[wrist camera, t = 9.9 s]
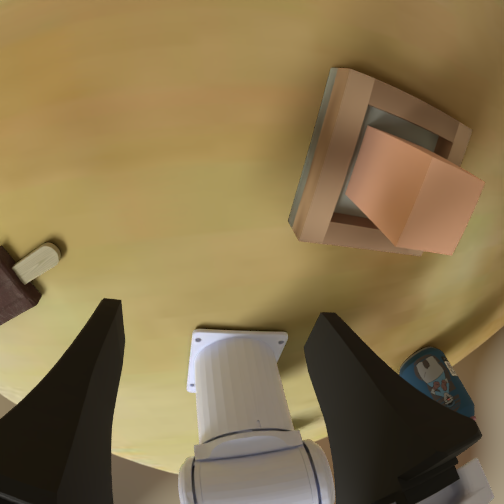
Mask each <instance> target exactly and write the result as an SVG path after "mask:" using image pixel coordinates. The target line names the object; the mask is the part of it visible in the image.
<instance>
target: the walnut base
mask: <svg viewBox="0 0 504 504" xmlns="http://www.w3.org/2000/svg"><path fill="white" fill-rule="evenodd" d="M367 125H368V126H371V127H373V128H376V129H379V130H382V131H384V132H387V133H390V134H392V135H395V136H397V137H400V138H402V139H405V140H407V141H410V142H412V143H415V144H417V145H419V146H422V147H424V148H426V149H428V150H429V151H431V152H433V153H435V154H437V155H439V156H441V157H443V158H445V159H446V160H448V161H450V162H452V163H454V164H455V165H457V166H459V167H460V166H461V163H462V160H463V157H464V154H465V152H466V149H467V146H468V143H469V140H470V136H471V133H472V129H470V128H468V127H467V126H465V125H464V124H462V123H461V122H459V121H457V120H456V119H454V118H452V117H451V116H449V115H447V114H445V113H444V112H442V111H440V110H438V109H437V108H435V107H433V106H431V105H429V104H427V103H426V102H424V101H422V100H420V99H418V98H416V97H414V96H412V95H410V94H408V93H406V92H404V91H402V90H400V89H398V88H395V87H393V86H391V85H389V84H387V83H384V82H382V81H380V80H377V79H375V78H373V77H370V76H368V75H365V74H363V73H360V72H358V71H355V70H353V69H348V68H331V69H330V73H329V77H328V80H327V84H326V88H325V92H324V95H323V99H322V103H321V107H320V110H319V114H318V118H317V121H316V125H315V128H314V132H313V136H312V139H311V143H310V146H309V150H308V153H307V157H306V161H305V164H304V168H303V171H302V174H301V178H300V181H299V185H298V188H297V192H296V195H295V199H294V202H293V205H292V209H291V212H290V215H289V219H288V222H289V224H290V226H291V227H292V229H293V231H294V233H295V235H296V237H297V239H298V240H299V241H302V242H310V243H319V244H327V245H336V246H344V247H352V248H360V249H368V250H376V251H384V252H392V253H400V254H407V255H415V256H421V255H422V253H423V251H420V250H413V249H407V248H400V247H395V246H394V245H393V244H392V242H391V241H390V240H389V239H388V238H387V237H386V236H385V235H384V234H383V233H382V232H381V230H380V229H379V228H378V227H377V226H376V225H375V224H374V223H373V222H372V221H371V220H370V219H369V218H368V217H367V216H366V215H365V214H364V213H363V212H362V211H361V210H360V209H359V208H358V207H357V206H356V205H355V204H354V203H353V202H352V201H351V200H350V199H349V198H348V197H347V196H346V195H345V192H346V189H347V186H348V184H349V181H350V178H351V175H352V172H353V169H354V166H355V163H356V160H357V157H358V154H359V150H360V147H361V144H362V141H363V138H364V135H365V131H366V128H367Z"/></svg>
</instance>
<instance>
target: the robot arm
mask: <svg viewBox="0 0 504 504" xmlns="http://www.w3.org/2000/svg"><path fill="white" fill-rule="evenodd" d="M198 338H199V339H198ZM287 340H288V334H287V333H286V332H270V331H235V330H213V329H195V330H194V331H193V334H192V342H191V351H190V360H189V369H188V379H187V391H188V392H193V393H196V405H197V419H198V432H199V445H194V453H195V456H193V457H188V458H186V460H185V462H184V463H183V464H182V465H181V467H180V470H179V477H178V488H179V496H180V503H181V504H334V501H335V493H336V504H488V503H489V502H491V501H492V500H493V499H494V495H493V493H492V490H491V488H490V485H489V483H488V481H487V478H486V476H485V474H484V471H483V469H482V467H481V465H480V463H479V460H478V458H474V459H473V460H471V461H470V462H468V463H467V464H465V465H463V466H462V467H460V468H458V469H457V470H456V468H455V466H454V465H456V464H458V460H457V458H456V456H458V455H459V454H461V453H462V452H463V451H465V450H466V449H468V448H469V447H470V446H472V445H473V444H474V443H476V442H477V441H478V440H479V439H480V438H481V437H482V434H481V432H480V430H479V428H478V426H477V424H476V422H475V420H474V419H472V418H469V417H467V416H464V415H462V414H460V413H457V412H455V411H453V410H451V409H449V408H447V407H445V406H443V405H442V404H440V403H438V402H436V401H435V400H433V399H431V398H430V397H428V396H427V395H425V394H424V393H422V392H421V391H419V390H418V389H416V388H415V387H414V386H412V385H411V384H410V383H408V382H407V381H406V380H405V379H403V378H402V377H401V376H399V375H398V374H397V373H396V372H395V371H394V370H392V369H391V368H390V367H389V366H388V365H387V364H386V363H385V362H384V361H383V360H382V359H380V358H379V357H378V356H377V355H376V354H375V353H374V352H373V351H372V350H371V349H370V348H369V347H368V346H367V345H366V344H365V343H364V342H363V341H362V340H361V339H360V337H359V336H358V335H357V334H356V333H355V332H354V331H353V330H352V329H351V328H350V327H349V326H348V325H347V324H346V323H345V322H344V321H343V320H342V319H341V318H340V317H339V316H338V315H337V314H336V313H328V312H321V313H320V315H319V317H318V319H317V322H316V324H315V326H314V328H313V330H312V332H311V334H310V336H309V338H308V340H307V342H306V344H305V346H304V352H305V358H306V363H307V368H308V372H309V375H310V378H311V381H312V384H313V387H314V390H315V393H316V396H317V399H318V402H319V405H320V408H321V411H322V414H323V417H324V420H325V424H326V428H327V433H328V437H329V442H330V448H331V454H332V460H333V468H334V478H335V489H334V483H333V478H332V474H331V470H330V466H329V463H328V461H327V458H326V456H325V453H324V451H323V450H322V448H321V447H320V446H319V445H318V444H316V443H314V442H313V441H312V440H310V439H307V440H303V441H302V438H301V434H300V431H299V430H294V427H293V423H292V419H291V415H290V412H289V408H288V404H287V400H286V397H285V393H284V389H283V385H282V381H281V378H280V374H279V370H278V366H277V362H278V360H279V357H280V355H281V353H282V351H283V349H284V346H285V344H286V342H287ZM124 346H125V334H124V325H123V315H122V304H121V300H116V299H107V298H104V299H103V300H101V302H100V304H99V305H98V307H97V308H96V310H95V311H94V313H93V314H92V316H91V317H90V319H89V320H88V322H87V323H86V325H85V326H84V328H83V329H82V330H81V332H80V333H79V334H78V336H77V337H76V339H75V340H74V341H73V343H72V344H71V345H70V347H69V348H68V349H67V350H66V352H65V353H64V354H63V356H62V357H61V358H60V359H59V361H58V362H57V363H56V364H55V365H54V367H53V368H52V369H51V370H50V371H49V373H48V374H47V375H46V376H45V377H44V378H43V379H42V380H41V381H40V382H39V384H38V385H37V386H36V387H35V388H34V389H33V390H32V391H31V392H30V393H29V394H28V395H27V396H26V397H25V398H24V399H23V400H22V401H20V402H19V403H18V404H17V405H16V406H15V407H14V408H13V409H11V410H10V411H9V412H8V413H7V414H6V415H5V416H3V417H2V418H1V419H0V504H113V494H112V476H111V435H112V422H113V414H114V408H115V403H116V397H117V392H118V386H119V381H120V376H121V371H122V366H123V356H124ZM335 491H336V492H335Z"/></svg>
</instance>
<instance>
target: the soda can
mask: <svg viewBox="0 0 504 504" xmlns="http://www.w3.org/2000/svg"><path fill="white" fill-rule="evenodd" d="M399 376H401V377H402V378H403V379H405V380H406V381H407V382H408V383H410V384H411V385H412V386H414V387H415V388H416V389H418V390H419V391H421V392H422V393H424V394H425V395H427V396H428V397H430V398H431V399H433V400H435V401H436V402H438V403H440V404H442V405H443V406H445V407H447V408H449V409H451V410H453V411H455V412H457V413H460V414H462V415H464V416H467V417H469V418H472V419H474V420H475V419H476V417H475V416H474V403H473V401H472V400H471V398H470V396H469V395H468V393H467V391H466V389H465V388H464V386H463V384H462V382H461V381H460V379H459V377H458V376H457V374H456V373H455V371H454V369H453V368H452V366H451V364H450V363H449V361H448V360H447V358H446V356H445V355H444V353H443V352H442V351H441V350H439V349H436V348H434V347H425V348H423V349H421V350H419V351H417V352H415V353H414V354H412V355H411V356H410V357H409V358H408V359H407V360H406V361H405V362H404V363H403V364H402V366H401V367H400V374H399Z"/></svg>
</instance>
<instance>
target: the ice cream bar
mask: <svg viewBox="0 0 504 504" xmlns="http://www.w3.org/2000/svg"><path fill="white" fill-rule="evenodd" d="M60 258H61V254H60V251H59V249H58V248H57V247H56V246H55V245H54V244H52V243H44V244H42V245H41V246H40V247H38V248H37V249H35V250H34V251H32V252H31V253H29V254H28V255H27V256H25V257H24V258H22V259H21V260H20V261H18V262H17V263H15V261H14V260H13V259H12V257H11V256H10V255H9V254H8V253H7V251H6V250H5V249H4V248H3V247H2V246H0V325H2V324H3V323H5V322H7V321H9V320H10V319H12V318H14V317H16V316H18V315H19V314H21V313H23V312H25V311H27V310H28V309H30V308H32V307H34V306H36V305H37V304H38V302H39V300H40V298H41V296H42V295H41V294H40V293H39V292H38V290H37V289H36V288H35V287H34V285H33V284H32V283H31V282H30V281H32V280H33V279H35V278H36V277H38V276H40V275H41V274H43V273H44V272H46V271H48V270H49V269H51V268H53V267H54V266H56V265H57V264H58V262H59V260H60Z"/></svg>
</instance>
